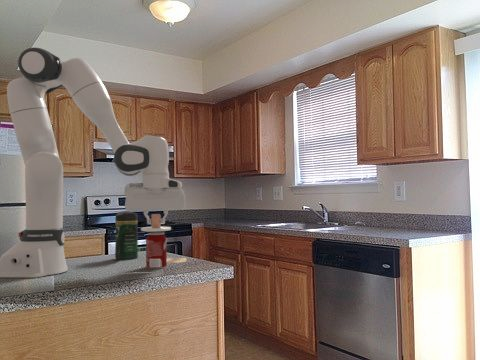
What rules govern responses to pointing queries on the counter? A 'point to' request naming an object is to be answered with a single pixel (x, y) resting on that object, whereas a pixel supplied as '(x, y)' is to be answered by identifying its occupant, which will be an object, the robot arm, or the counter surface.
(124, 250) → the coffee jar
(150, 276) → the counter surface
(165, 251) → the soda can
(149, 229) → the lid
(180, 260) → the mat
